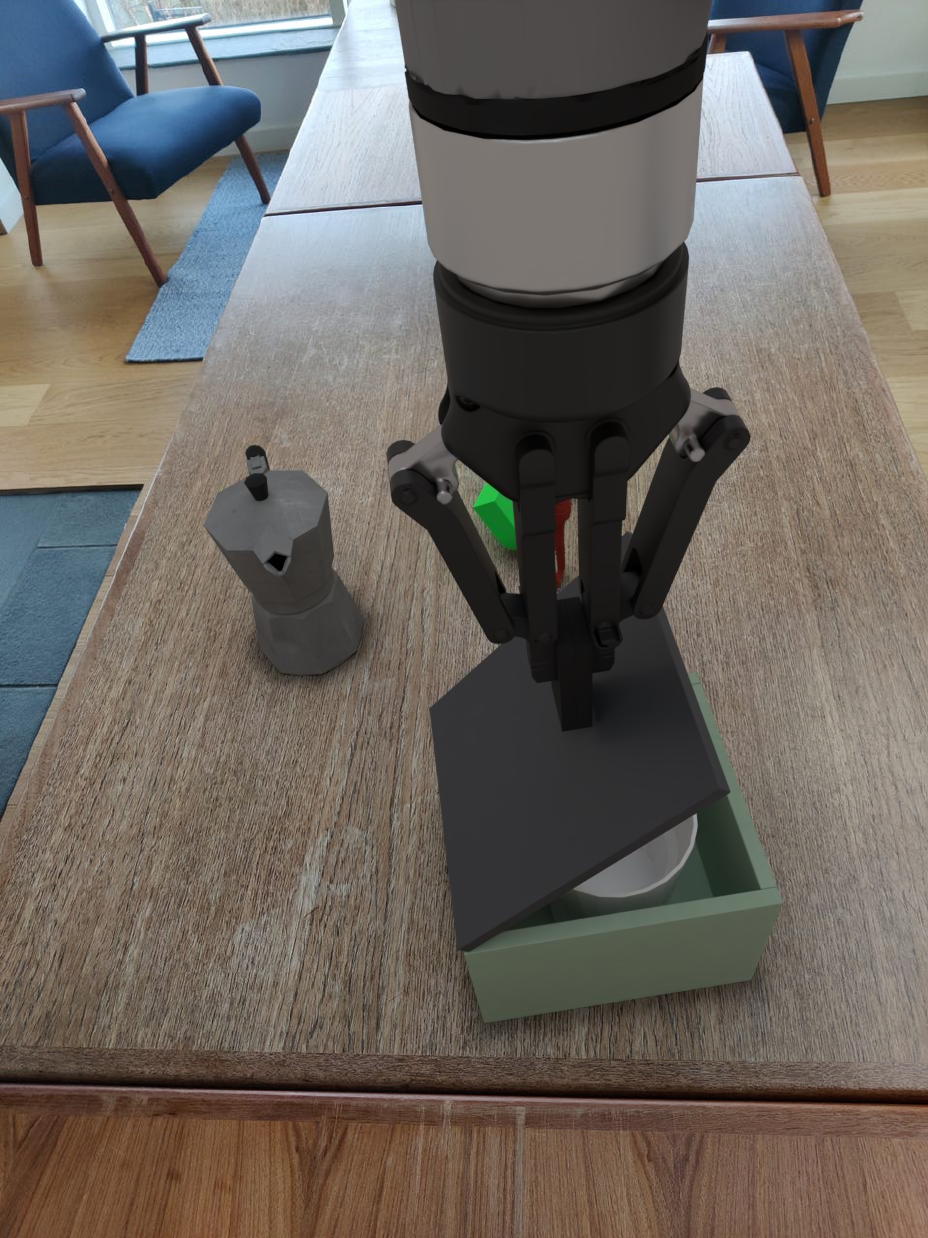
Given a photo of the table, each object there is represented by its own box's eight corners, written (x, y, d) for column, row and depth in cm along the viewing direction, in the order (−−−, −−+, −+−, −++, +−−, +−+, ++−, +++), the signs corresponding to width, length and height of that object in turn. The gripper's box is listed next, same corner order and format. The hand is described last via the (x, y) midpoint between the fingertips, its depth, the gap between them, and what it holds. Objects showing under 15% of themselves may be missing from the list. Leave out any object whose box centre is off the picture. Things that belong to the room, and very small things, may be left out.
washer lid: (638, 536, 46) (627, 530, 46) (731, 792, 36) (719, 788, 36) (438, 711, 56) (428, 708, 55) (469, 952, 46) (456, 950, 45)
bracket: (526, 450, 96) (489, 397, 93) (601, 425, 90) (565, 366, 86) (456, 579, 85) (412, 524, 81) (538, 560, 78) (493, 499, 75)
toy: (536, 600, 77) (528, 466, 66) (555, 557, 80) (550, 422, 69) (563, 606, 76) (559, 471, 65) (580, 562, 79) (579, 427, 68)
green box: (681, 769, 65) (697, 671, 56) (751, 980, 55) (783, 903, 46) (455, 805, 65) (434, 714, 56) (484, 1023, 55) (464, 955, 46)
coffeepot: (381, 678, 73) (334, 519, 60) (270, 710, 72) (196, 556, 59) (346, 554, 83) (299, 394, 70) (248, 581, 82) (181, 424, 69)
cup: (708, 862, 59) (726, 787, 52) (638, 993, 54) (646, 931, 47) (577, 793, 63) (576, 715, 56) (502, 908, 59) (489, 840, 51)
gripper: (737, 153, 28) (680, 627, 46) (333, 220, 28) (433, 668, 46) (830, 267, 23) (726, 749, 41) (341, 349, 23) (449, 795, 41)
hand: (571, 706), depth 43 cm, fingers closed
